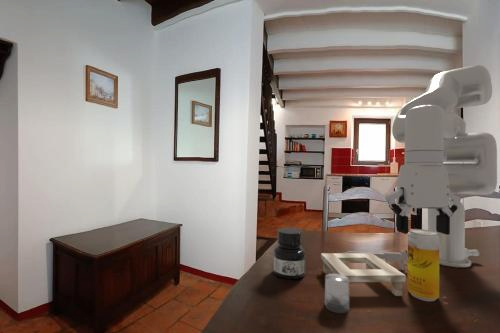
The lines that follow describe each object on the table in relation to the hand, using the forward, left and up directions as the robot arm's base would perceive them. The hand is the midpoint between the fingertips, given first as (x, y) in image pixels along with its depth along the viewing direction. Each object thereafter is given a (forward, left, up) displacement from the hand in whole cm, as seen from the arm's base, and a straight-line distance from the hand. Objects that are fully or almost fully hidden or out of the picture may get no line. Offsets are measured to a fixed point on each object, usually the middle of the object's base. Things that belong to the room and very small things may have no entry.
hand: (422, 232), depth 58 cm
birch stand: (+12, -7, -15) cm, 20 cm away
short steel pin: (+22, +4, -15) cm, 26 cm away
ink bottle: (+29, -13, -15) cm, 35 cm away
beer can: (0, 0, -15) cm, 15 cm away
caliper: (0, -21, -15) cm, 26 cm away
